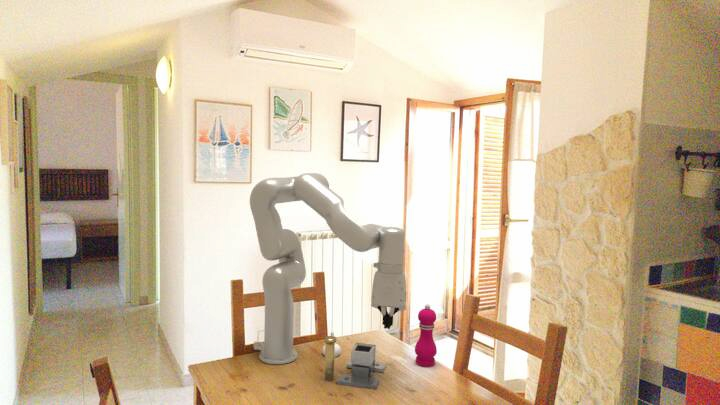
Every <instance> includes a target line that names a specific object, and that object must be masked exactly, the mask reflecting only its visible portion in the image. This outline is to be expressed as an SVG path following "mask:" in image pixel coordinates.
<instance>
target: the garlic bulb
mask: <svg viewBox="0 0 720 405" xmlns="http://www.w3.org/2000/svg"><path fill="white" fill-rule="evenodd" d="M329 336H334V337H335V332H334V331H330V335H329ZM321 352H322V355H323V356H324V357H325V345H323V347H322V351H321ZM341 352H342V350H341V346H340V345H339V344H337V343H336V342H335V353H334V358H336V357H339V356H340V355H341Z"/></svg>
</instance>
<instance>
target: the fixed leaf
mask: <svg viewBox="0 0 720 405" xmlns="http://www.w3.org/2000/svg"><path fill="white" fill-rule="evenodd" d="M373 369H374V361H373V363H372V365H371V366H364V365H356V364H352V368H351V371H350V372H351V373H350V374H344V373H340V374H339V376H338V377H337V380H336V385H342V386H348V387H356V388H364V389H371V390H377V388H378V386H379V384H380V378H375V377H373V374H374V371H373Z"/></svg>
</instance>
